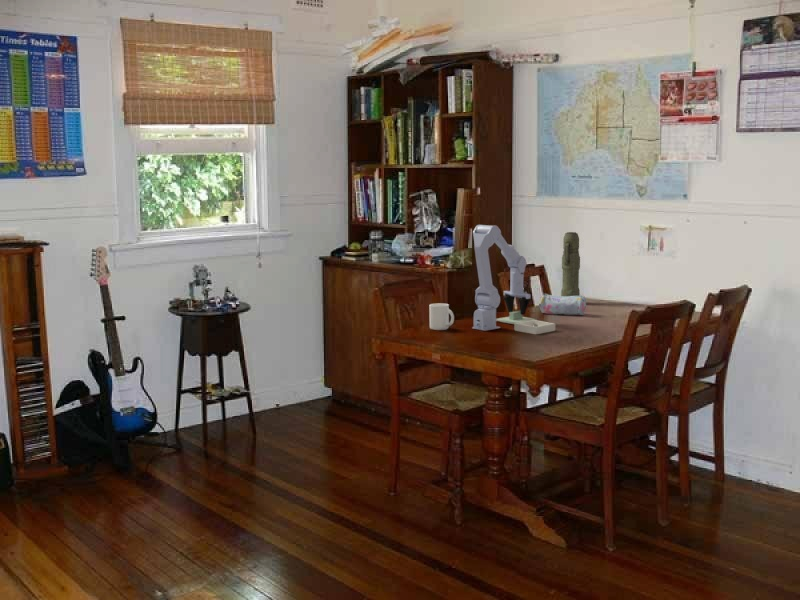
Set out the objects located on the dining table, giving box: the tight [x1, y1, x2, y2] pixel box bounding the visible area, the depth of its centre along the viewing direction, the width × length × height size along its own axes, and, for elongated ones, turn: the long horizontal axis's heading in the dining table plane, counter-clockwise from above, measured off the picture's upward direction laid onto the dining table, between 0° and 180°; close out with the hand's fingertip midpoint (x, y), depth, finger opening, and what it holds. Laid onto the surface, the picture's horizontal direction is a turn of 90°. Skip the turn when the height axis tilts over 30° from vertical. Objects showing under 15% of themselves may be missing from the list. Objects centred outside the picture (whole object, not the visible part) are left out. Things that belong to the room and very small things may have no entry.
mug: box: [428, 302, 455, 331], centre depth 397 cm, size 12×8×10 cm
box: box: [513, 319, 556, 335], centre depth 391 cm, size 12×12×3 cm
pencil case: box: [538, 293, 587, 316], centre depth 429 cm, size 21×9×10 cm, turn 63°
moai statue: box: [560, 231, 581, 296], centre depth 457 cm, size 9×12×35 cm
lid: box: [496, 310, 537, 325], centre depth 411 cm, size 12×12×5 cm
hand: (516, 313), depth 411 cm, fingers open, 7 cm apart
